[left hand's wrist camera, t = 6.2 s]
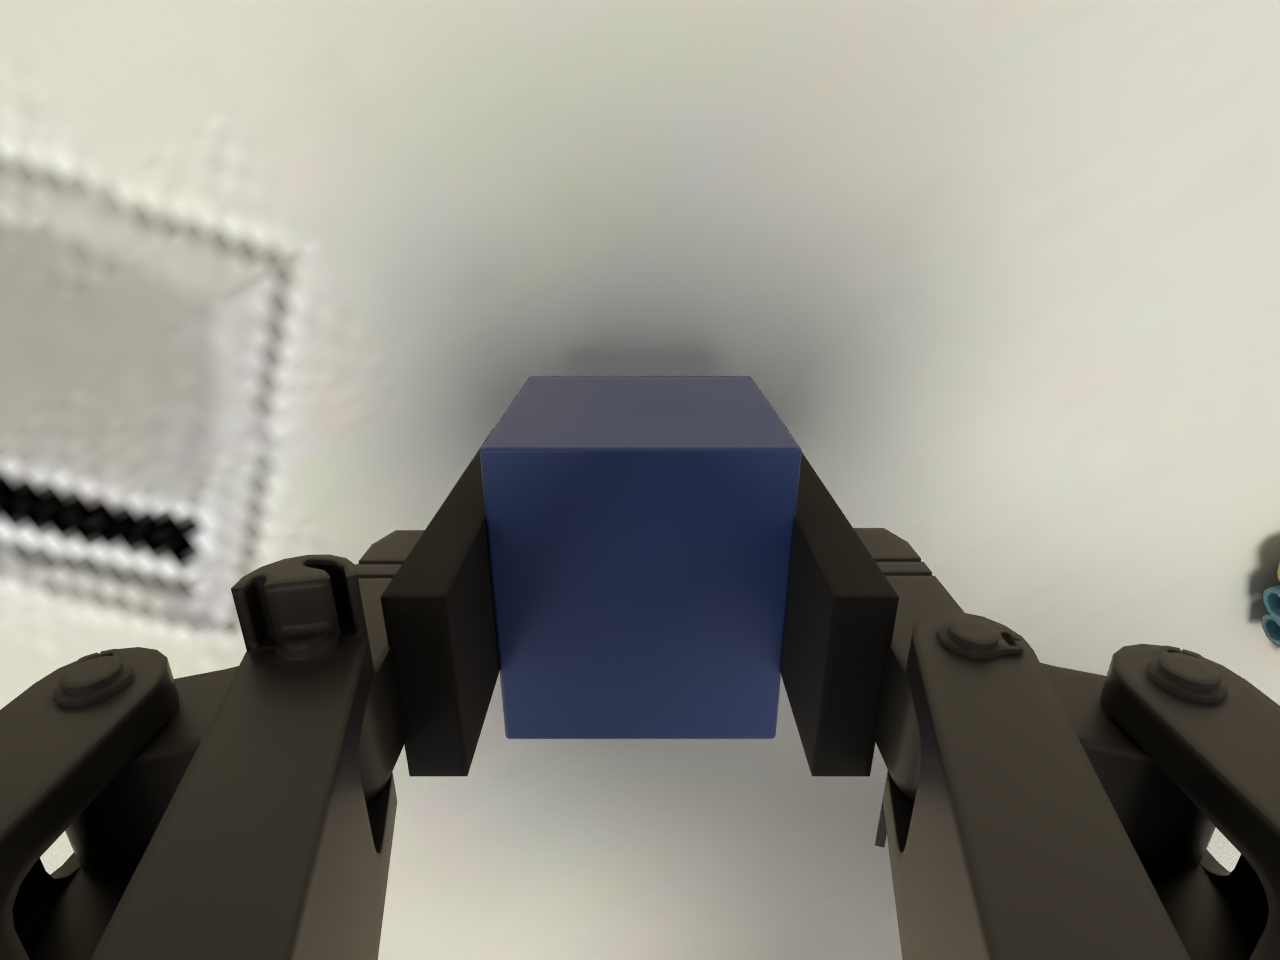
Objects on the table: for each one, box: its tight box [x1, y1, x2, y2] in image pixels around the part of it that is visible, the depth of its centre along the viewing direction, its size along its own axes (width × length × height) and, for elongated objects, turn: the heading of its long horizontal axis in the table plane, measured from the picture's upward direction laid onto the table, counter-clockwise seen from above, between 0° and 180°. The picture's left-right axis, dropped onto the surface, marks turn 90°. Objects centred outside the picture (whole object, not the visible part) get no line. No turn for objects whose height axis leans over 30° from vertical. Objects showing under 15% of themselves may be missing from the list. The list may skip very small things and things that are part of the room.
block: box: [480, 376, 802, 739], centre depth 12 cm, size 5×4×5 cm
